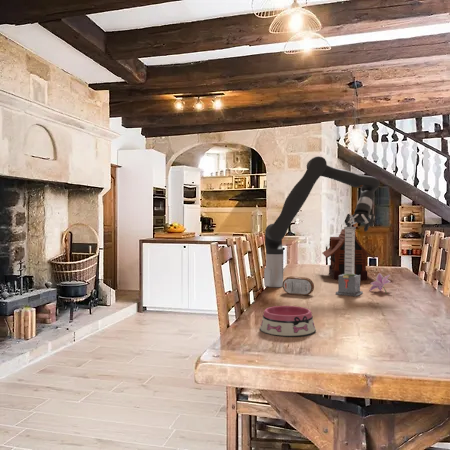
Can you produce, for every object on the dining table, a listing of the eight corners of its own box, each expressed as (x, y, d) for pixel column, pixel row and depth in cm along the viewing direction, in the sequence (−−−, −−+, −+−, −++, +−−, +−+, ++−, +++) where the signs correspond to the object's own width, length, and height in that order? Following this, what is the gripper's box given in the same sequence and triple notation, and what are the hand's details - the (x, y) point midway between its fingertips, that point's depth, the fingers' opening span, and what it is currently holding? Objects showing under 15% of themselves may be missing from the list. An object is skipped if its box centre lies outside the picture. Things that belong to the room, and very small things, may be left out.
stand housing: (355, 296, 214) (356, 276, 214) (335, 294, 220) (335, 274, 220) (362, 293, 223) (362, 274, 223) (342, 291, 229) (342, 272, 228)
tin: (314, 295, 218) (314, 277, 218) (312, 296, 215) (312, 278, 215) (283, 292, 224) (283, 275, 224) (281, 293, 221) (281, 276, 221)
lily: (394, 293, 230) (386, 275, 234) (399, 287, 219) (391, 269, 223) (371, 300, 231) (364, 282, 234) (375, 295, 220) (367, 276, 223)
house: (321, 272, 301) (321, 228, 300) (366, 273, 297) (366, 229, 297) (326, 280, 266) (327, 230, 266) (377, 281, 263) (377, 231, 262)
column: (352, 279, 218) (353, 227, 218) (343, 278, 221) (344, 226, 220) (355, 278, 222) (356, 226, 221) (346, 277, 225) (347, 226, 224)
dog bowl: (277, 340, 141) (277, 318, 141) (250, 326, 158) (250, 306, 158) (327, 334, 148) (327, 313, 148) (295, 321, 165) (295, 302, 165)
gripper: (348, 202, 240) (340, 224, 231) (376, 202, 232) (369, 225, 223) (351, 212, 244) (344, 235, 235) (379, 212, 236) (372, 235, 227)
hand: (356, 230), depth 229 cm, fingers open, 8 cm apart
